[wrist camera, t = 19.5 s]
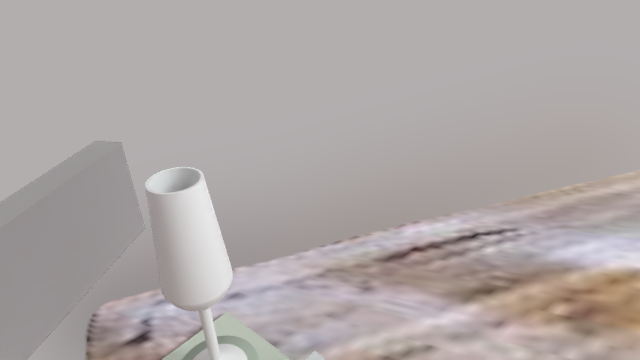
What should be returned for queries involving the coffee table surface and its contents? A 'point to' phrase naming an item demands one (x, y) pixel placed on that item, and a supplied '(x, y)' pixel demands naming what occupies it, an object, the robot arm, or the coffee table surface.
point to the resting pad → (229, 342)
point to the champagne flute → (190, 250)
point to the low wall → (315, 356)
